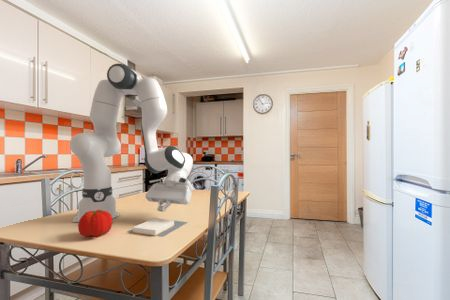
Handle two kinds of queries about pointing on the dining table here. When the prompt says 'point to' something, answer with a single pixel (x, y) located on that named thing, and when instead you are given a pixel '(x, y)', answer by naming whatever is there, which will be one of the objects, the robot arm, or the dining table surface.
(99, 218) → the tomato
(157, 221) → the tile
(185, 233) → the dining table surface
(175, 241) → the dining table surface
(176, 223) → the mat
